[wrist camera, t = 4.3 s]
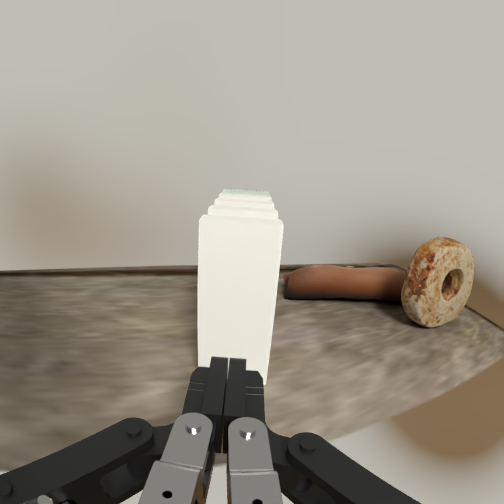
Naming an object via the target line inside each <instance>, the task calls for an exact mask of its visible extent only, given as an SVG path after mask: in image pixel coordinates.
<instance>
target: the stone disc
mask: <svg viewBox="0 0 504 504" xmlns="http://www.w3.org/2000/svg"><path fill="white" fill-rule="evenodd" d="M472 258H473V255H472V252H471V251H470V250H469V249H468V247H466V246H465V245H464V244H462V243H461V242H458V241H456V240H453V239H450V238H445V237H437V238H434V239H431V240H429V241H427V242H425V243H423V244H422V245H421V246H420V247H419V248H418V250H417V251H416V252H415V254H414V256H413V258H412V260H411V262H410V265H409V267H408V270H407V272H406V273H407V277H406V279H405V280H404V285H403V287H402V292H401V301H402V305H403V309H404V311H405V313H406V314H407V316H408V317H409V318H410V319H411V320H413V321H414V322H416V323H417V324H419V325H422V326H425V327H430V328H431V327H437V326H440V325H443V324H445V323H448V322H450V321H451V320H453V319H454V318H456V316H457V315H458V314H459V313H460V312H461V311H462V308H463V307H464V305H465V304H466V302H467V300H468V297H469V295H470V291H471V288H472V283H473V276H474V262H473V261H472Z"/></svg>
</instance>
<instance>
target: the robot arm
mask: <svg viewBox="0 0 504 504" xmlns="http://www.w3.org/2000/svg"><path fill="white" fill-rule="evenodd" d="M222 438H223V453H227V498H228V504H283V502H282V495H281V492H282V493H283V494H284V495H285V496H286V497H287V498H288V499H289V500H291V501H292V502H293V503H294V504H421V503H419V502H418V501H416V500H414V499H412V498H411V497H409V496H407V495H406V494H404V493H403V492H401V491H399V490H398V489H396V488H394V487H393V486H391V485H390V484H388V483H386V482H385V481H383V480H382V479H380V478H379V477H377V476H376V475H374V474H373V473H371V472H370V471H368V470H367V469H365V468H364V467H362V466H361V465H359V464H358V463H356V462H355V461H354V460H352V459H351V458H349V457H348V456H346V455H345V454H343V453H342V452H341V451H339V450H337V448H335V447H334V446H332V445H331V444H330V443H328V442H327V441H326V440H324V439H323V438H322V437H320V436H319V435H316V434H313V433H308V432H304V433H299V434H296V435H294V436H293V437H291V438H288V437H284V436H281V435H278V434H276V433H274V432H272V431H271V430H270V429H269V428H268V427H267V425H266V423H265V412H264V389H263V378H262V376H261V375H260V373H259V372H258V371H252V370H246V359H242V358H230V360H229V369H228V358H227V357H215V356H212V357H211V362H210V367H200V366H199V367H198V368H197V369H196V370H195V371H194V372H193V373H192V375H191V379H190V383H189V387H188V391H187V395H186V399H185V403H184V407H183V412H182V415H181V416H179V417H178V418H177V419H176V420H175V422H174V423H173V424H170V425H167V426H159V427H151V425H150V424H149V423H148V422H147V421H145V420H143V419H141V418H127V419H124V420H122V421H120V422H118V423H116V424H114V425H112V426H110V427H108V428H106V429H104V430H102V431H100V432H98V433H96V434H94V435H92V436H90V437H88V438H86V439H83V440H81V441H79V442H77V443H75V444H73V445H71V446H68V447H66V448H64V449H62V450H60V451H57V452H55V453H53V454H51V455H48V456H46V457H44V458H41V459H39V460H37V461H34V462H32V463H29V464H27V465H25V466H22V467H20V468H17V469H15V470H12V471H9V472H7V473H4V474H2V475H0V504H119V503H121V502H123V501H125V500H126V499H128V498H130V497H131V496H133V495H135V494H136V493H138V492H140V491H141V490H143V492H142V495H141V497H140V500H139V503H138V504H205V503H206V498H207V494H208V489H209V484H210V480H211V474H212V471H213V464H214V461H215V453H221V448H222Z"/></svg>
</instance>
